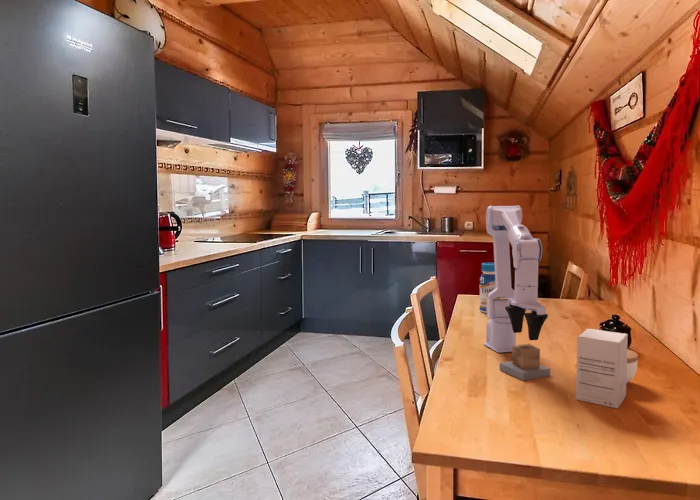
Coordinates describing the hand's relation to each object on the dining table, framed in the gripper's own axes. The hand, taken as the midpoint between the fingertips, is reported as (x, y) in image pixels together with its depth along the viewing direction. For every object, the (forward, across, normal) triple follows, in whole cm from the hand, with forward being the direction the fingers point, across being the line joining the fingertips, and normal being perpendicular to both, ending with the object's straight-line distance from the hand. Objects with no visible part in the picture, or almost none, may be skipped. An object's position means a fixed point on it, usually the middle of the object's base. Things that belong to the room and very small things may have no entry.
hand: (525, 336), depth 132 cm
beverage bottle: (+10, -70, +28) cm, 76 cm away
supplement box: (+10, +20, +7) cm, 24 cm away
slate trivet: (+10, 0, 0) cm, 11 cm away
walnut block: (+8, 0, 0) cm, 8 cm away
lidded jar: (+10, +12, +17) cm, 23 cm away
